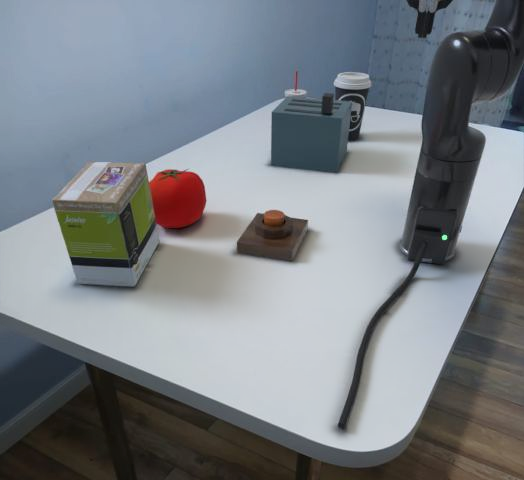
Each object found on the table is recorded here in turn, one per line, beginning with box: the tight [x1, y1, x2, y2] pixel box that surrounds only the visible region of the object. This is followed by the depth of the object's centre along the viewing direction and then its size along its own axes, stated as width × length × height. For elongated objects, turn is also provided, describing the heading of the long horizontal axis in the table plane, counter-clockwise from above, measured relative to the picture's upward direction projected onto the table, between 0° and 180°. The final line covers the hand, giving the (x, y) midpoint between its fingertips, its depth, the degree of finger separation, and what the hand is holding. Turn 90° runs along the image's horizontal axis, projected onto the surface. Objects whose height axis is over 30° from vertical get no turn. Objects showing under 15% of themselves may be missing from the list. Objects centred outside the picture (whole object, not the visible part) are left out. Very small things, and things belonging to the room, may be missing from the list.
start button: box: [263, 209, 285, 227], centre depth 87 cm, size 4×4×2 cm
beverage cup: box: [284, 70, 308, 98], centre depth 137 cm, size 6×6×14 cm
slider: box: [321, 92, 335, 114], centre depth 109 cm, size 3×2×4 cm
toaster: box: [270, 96, 352, 174], centre depth 118 cm, size 14×16×12 cm
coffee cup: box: [333, 71, 372, 142], centre depth 130 cm, size 10×10×15 cm
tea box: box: [51, 160, 160, 288], centre depth 80 cm, size 15×10×15 cm, turn 174°
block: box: [236, 212, 309, 262], centre depth 89 cm, size 12×10×4 cm
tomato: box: [149, 168, 207, 229], centre depth 93 cm, size 11×13×10 cm
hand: (422, 37), depth 87 cm, fingers closed
